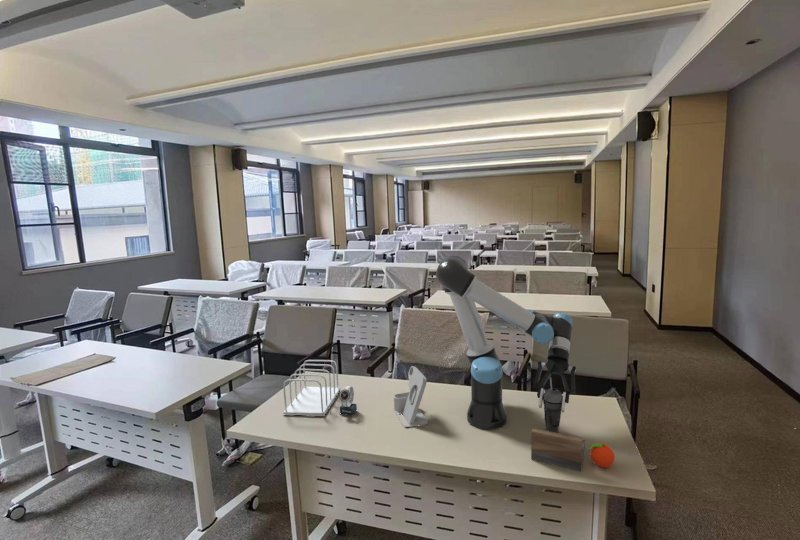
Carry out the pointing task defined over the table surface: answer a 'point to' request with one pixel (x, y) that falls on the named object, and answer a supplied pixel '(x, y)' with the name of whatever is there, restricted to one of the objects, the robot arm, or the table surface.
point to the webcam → (347, 401)
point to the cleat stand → (557, 449)
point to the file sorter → (312, 393)
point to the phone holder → (411, 400)
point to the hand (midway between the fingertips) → (551, 408)
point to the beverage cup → (552, 408)
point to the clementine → (602, 455)
